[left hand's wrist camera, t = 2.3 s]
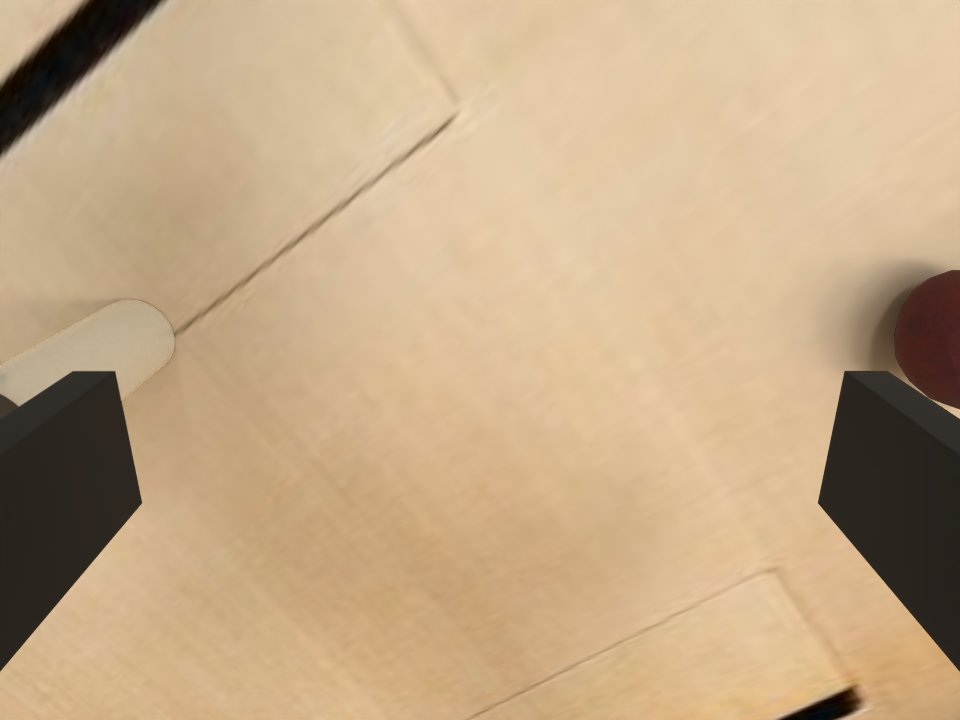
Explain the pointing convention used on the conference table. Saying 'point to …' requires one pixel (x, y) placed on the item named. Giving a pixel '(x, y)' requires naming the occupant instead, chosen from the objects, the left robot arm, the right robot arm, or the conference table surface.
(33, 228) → the conference table surface
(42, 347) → the jar
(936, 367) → the dark red ball
